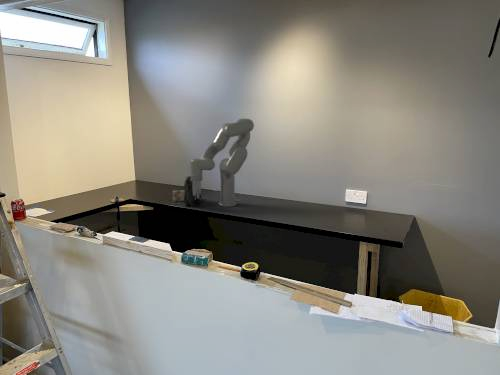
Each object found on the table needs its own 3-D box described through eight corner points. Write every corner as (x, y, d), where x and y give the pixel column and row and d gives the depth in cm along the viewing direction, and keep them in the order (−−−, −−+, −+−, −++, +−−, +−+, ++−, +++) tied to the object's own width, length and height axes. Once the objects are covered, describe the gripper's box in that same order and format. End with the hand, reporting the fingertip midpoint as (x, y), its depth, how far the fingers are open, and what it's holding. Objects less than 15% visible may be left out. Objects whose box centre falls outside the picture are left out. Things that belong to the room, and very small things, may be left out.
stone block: (195, 207, 230) (194, 178, 226) (182, 206, 232) (181, 177, 228) (205, 201, 247) (204, 173, 243) (193, 200, 250) (192, 172, 245)
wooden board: (201, 199, 252) (201, 189, 251) (201, 199, 251) (201, 190, 249) (173, 200, 248) (172, 190, 246) (173, 201, 246) (172, 191, 244)
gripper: (189, 176, 233) (190, 202, 237) (191, 180, 219) (192, 208, 223) (201, 175, 235) (201, 202, 239) (203, 179, 221) (204, 207, 225)
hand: (197, 205), depth 231 cm, fingers closed
